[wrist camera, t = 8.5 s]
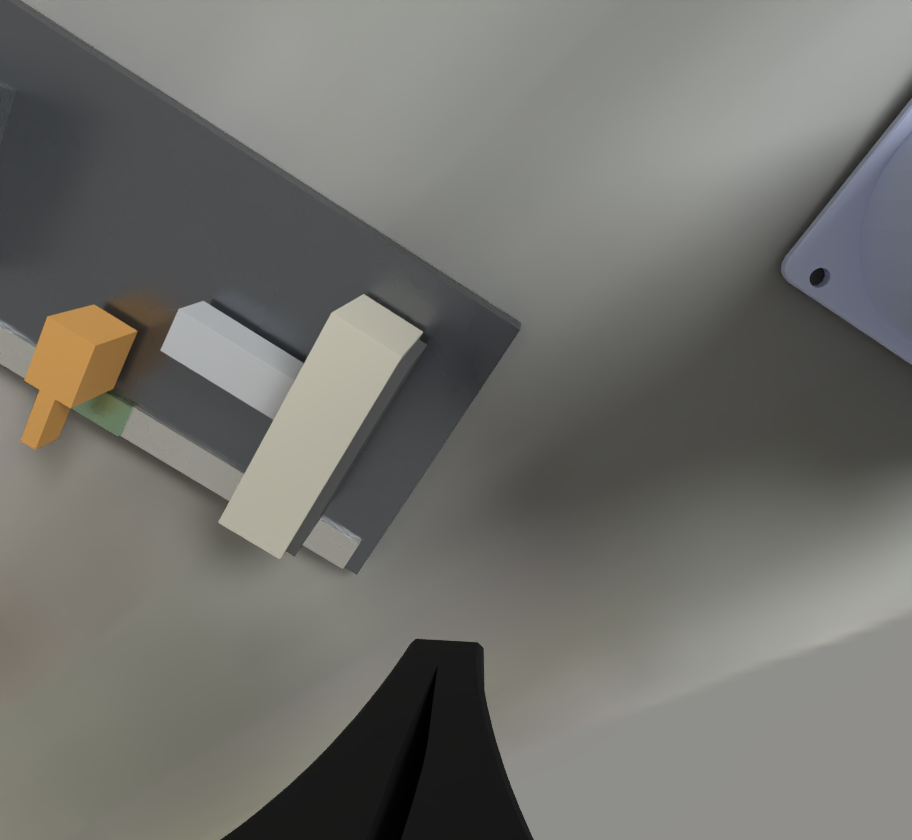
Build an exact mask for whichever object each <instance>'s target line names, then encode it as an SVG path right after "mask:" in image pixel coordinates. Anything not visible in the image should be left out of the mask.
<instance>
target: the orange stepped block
mask: <svg viewBox="0 0 912 840" xmlns="http://www.w3.org/2000/svg"><path fill="white" fill-rule="evenodd" d="M137 332H138V331H137V330H135V329H134V328H132V327H130V326H129V325H127V324H125V323H124V322H122V321H120V320H119V319H117V318H116V317H114V316H112V315H111V314H109V313H107V312H106V311H104V310H103V309H101V308H99V307H98V306H96V305H90V306H86V307H82V308H78V309H74V310H70V311H66V312H62V313H58V314H55V315H51V316H47V319H46V321H45V324H44V327H43V330H42V332H41V335H40V338H39V341H38V343H37V346H36V349H35V352H34V354H33V357H32V360H31V363H30V365H29V368H28V371H27V374H26V376H25V379H24V381H25V382H27V383H29V384H30V385H32V386H34V387H35V388H37V389H39V393H38V395H37V398H36V401H35V403H34V406H33V409H32V411H31V414H30V417H29V419H28V422H27V425H26V427H25V430H24V433H23V435H22V438H21V442H23V443H25V444H26V445H28V446H30V447H31V448H33V449H35V450H36V449H38V448H40V447H42V446H44V445H46V444H48V443H50V442H52V441H54V440H56V439H58V438H59V436H60V434H61V431H62V429H63V426H64V424H65V421H66V419H67V416H68V414H69V411H70V409H71V408H73V407H75V406H77V405H79V404H81V403H83V402H86V401H88V400H90V399H92V398H94V397H96V396H99V395H101V394H103V393H105V392H107V391H109V390H112V389H113V388H114V386H115V384H116V381H117V379H118V377H119V374H120V372H121V369H122V367H123V365H124V362H125V360H126V358H127V355H128V353H129V351H130V348H131V346H132V344H133V341H134V339H135V336H136V334H137Z"/></svg>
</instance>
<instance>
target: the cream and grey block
mask: <svg viewBox="0 0 912 840" xmlns="http://www.w3.org/2000/svg"><path fill="white" fill-rule="evenodd" d="M422 333H423V331H421V330H420V329H418V328H416V327H415V326H413V325H412V324H410V323H409V322H407V321H405V320H404V319H402V318H401V317H399V316H397V315H396V314H394V313H393V312H391V311H390V310H388V309H386V308H385V307H383V306H382V305H380V304H379V303H377V302H375V301H374V300H372V299H371V298H369V297H368V296H366V295H364V294H363V295H361V296H359V297H358V298H356V299H354V300H353V301H351V302H349V303H347V304H346V305H344V306H342V307H340V308H339V309H337V310H335V311H333V312H332V313H331V315H330V316H329V318H328V320H327V322H326V324H325V326H324V327H323V329H322V331H321V333H320V335H319V337H318V339H317V340H316V342H315V344H314V346H313V348H312V350H311V352H310V353H309V355H308V357H307V359H306V361H305V363H303V362H301V361H299V360H298V359H296V358H295V357H293V356H291V355H290V354H288V353H287V352H285V351H283V350H282V349H280V348H279V347H277V346H275V345H274V344H272V343H270V342H269V341H267V340H266V339H264V338H262V337H261V336H259V335H258V334H256V333H254V332H253V331H251V330H250V329H248V328H246V327H245V326H243V325H242V324H240V323H238V322H237V321H235V320H234V319H232V318H230V317H229V316H227V315H225V314H224V313H222V312H221V311H219V310H217V309H216V308H214V307H213V306H211V305H209V304H208V303H206V302H205V301H202V302H198V303H195V304H192V305H189V306H186V307H183V308H180V309H178V312H177V314H176V316H175V318H174V321H173V323H172V325H171V327H170V330H169V332H168V334H167V337H166V339H165V341H164V343H163V346H162V348H161V350H160V351H162V352H164V353H165V354H167V355H168V356H170V357H172V358H173V359H175V360H177V361H178V362H180V363H182V364H183V365H185V366H186V367H188V368H190V369H191V370H193V371H195V372H196V373H198V374H199V375H201V376H203V377H204V378H206V379H208V380H209V381H211V382H213V383H214V384H216V385H217V386H219V387H221V388H222V389H224V390H226V391H227V392H229V393H231V394H232V395H234V396H235V397H237V398H239V399H240V400H242V401H244V402H245V403H247V404H248V405H250V406H252V407H253V408H255V409H257V410H258V411H260V412H262V413H263V414H265V415H266V416H268V417H270V418H271V419H273V422H272V424H271V426H270V427H269V429H268V431H267V433H266V435H265V437H264V438H263V440H262V442H261V444H260V446H259V448H258V450H257V451H256V453H255V455H254V457H253V459H252V461H251V463H250V464H249V466H248V468H247V470H246V472H245V474H244V475H243V477H242V479H241V481H240V483H239V485H238V487H237V488H236V490H235V492H234V494H233V496H232V498H231V499H230V501H229V503H228V505H227V507H226V509H225V511H224V512H223V514H222V516H221V518H220V520H219V522H218V523H219V524H221V525H223V526H224V527H226V528H228V529H230V530H231V531H233V532H235V533H236V534H238V535H240V536H241V537H243V538H245V539H246V540H248V541H250V542H251V543H253V544H255V545H256V546H258V547H260V548H261V549H263V550H265V551H266V552H268V553H270V554H271V555H273V556H275V557H277V558H278V559H281V557H282V556H283V554H284V553H285V552H286V551H287V552H288V553H290V554H292V555H293V556H295V555H296V554H297V552H298V551H299V549H300V548H301V546H302V545H303V543H304V542H305V540H306V539H307V538H308V536H309V535H310V533H311V532H312V530H313V529H314V527H315V526H316V524H317V523H318V521H319V520H320V519H321V517H322V516H323V514H324V513H325V511H326V509H327V508H328V506H329V504H330V503H331V501H332V500H333V498H334V496H335V495H336V493H337V491H338V490H339V488H340V486H341V485H342V483H343V482H344V480H345V478H346V477H347V475H348V473H349V472H350V470H351V469H352V467H353V465H354V464H355V462H356V460H357V459H358V457H359V456H360V454H361V452H362V451H363V449H364V447H365V446H366V444H367V442H368V441H369V439H370V438H371V436H372V434H373V433H374V431H375V429H376V428H377V426H378V425H379V423H380V421H381V420H382V418H383V416H384V415H385V413H386V411H387V410H388V408H389V407H390V405H391V403H392V402H393V400H394V398H395V397H396V395H397V394H398V392H399V390H400V389H401V387H402V385H403V384H404V382H405V381H406V379H407V377H408V376H409V374H410V372H411V371H412V369H413V367H414V366H415V364H416V363H417V361H418V359H419V358H420V356H421V354H422V353H423V351H424V350H425V348H426V346H427V344H425V343H424V342H422V341H421V340H419V338H420V336H421V335H422Z"/></svg>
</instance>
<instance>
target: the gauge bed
mask: <svg viewBox="0 0 912 840" xmlns="http://www.w3.org/2000/svg"><path fill="white" fill-rule="evenodd" d="M363 294H364V295H366V296H368V297H369V298H371V299H372V300H374V301H375V302H377V303H379V304H380V305H382V306H383V307H385V308H386V309H388V310H390V311H391V312H393V313H394V314H396V315H397V316H399V317H401V318H402V319H404V320H405V321H407V322H409V323H410V324H412V325H413V326H415V327H416V328H418V329H420V330H421V331H423V333H422V335H421V336H420V338H419V340H421V341H422V342H424V343H425V344H427V346H426V348H425V350H424V351H423V353H422V354H421V356H420V358H419V359H418V361H417V363H416V364H415V366H414V367H413V369H412V371H411V372H410V374H409V376H408V377H407V379H406V381H405V382H404V384H403V385H402V387H401V389H400V390H399V392H398V394H397V395H396V397H395V398H394V400H393V402H392V403H391V405H390V407H389V408H388V410H387V411H386V413H385V415H384V416H383V418H382V420H381V421H380V423H379V425H378V426H377V428H376V429H375V431H374V433H373V434H372V436H371V438H370V439H369V441H368V442H367V444H366V446H365V447H364V449H363V451H362V452H361V454H360V456H359V457H358V459H357V460H356V462H355V464H354V465H353V467H352V469H351V470H350V472H349V473H348V475H347V477H346V478H345V480H344V482H343V483H342V485H341V486H340V488H339V490H338V491H337V493H336V495H335V496H334V498H333V500H332V501H331V503H330V504H329V506H328V508H327V509H326V511H325V513H324V514H323V516H322V517H321V519H320V520H319V521H318V523H317V524H316V526H315V527H314V529H313V530H312V532H311V533H310V535H309V536H308V538H307V539H306V540H305V542H304V543H303V546H305V547H307V548H308V549H310V550H312V551H313V552H315V553H317V554H318V555H320V556H322V557H323V558H325V559H327V560H328V561H330V562H332V563H333V564H335V565H337V566H338V567H340V568H342V569H343V568H344V567H345V568H347V569H349V570H350V571H352V572H354V573H355V574H357V573H358V572H359V570H360V569H361V567H362V566H363V564H364V563H365V561H366V560H367V558H368V557H369V555H370V554H371V552H372V551H373V549H374V548H375V546H376V545H377V543H378V542H379V540H380V539H381V537H382V536H383V534H384V533H385V531H386V530H387V528H388V527H389V525H390V524H391V522H392V521H393V519H394V518H395V516H396V515H397V513H398V512H399V510H400V509H401V507H402V506H403V504H404V503H405V501H406V500H407V498H408V497H409V495H410V494H411V492H412V491H413V489H414V488H415V486H416V485H417V483H418V482H419V480H420V479H421V477H422V476H423V474H424V473H425V471H426V470H427V468H428V467H429V465H430V464H431V462H432V461H433V459H434V458H435V456H436V455H437V453H438V452H439V450H440V449H441V447H442V446H443V444H444V443H445V441H446V440H447V438H448V437H449V435H450V434H451V432H452V431H453V429H454V428H455V426H456V425H457V423H458V422H459V420H460V419H461V417H462V416H463V414H464V413H465V411H466V410H467V408H468V407H469V405H470V404H471V402H472V401H473V399H474V398H475V396H476V395H477V393H478V392H479V390H480V389H481V387H482V386H483V384H484V383H485V381H486V380H487V378H488V377H489V375H490V374H491V372H492V371H493V369H494V368H495V366H496V365H497V363H498V362H499V360H500V359H501V357H502V356H503V354H504V353H505V351H506V350H507V348H508V347H509V345H510V344H511V342H512V341H513V339H514V338H515V336H516V335H517V333H518V332H519V330H520V326H521V323H520V322H518V321H517V320H515V319H514V318H512V317H511V316H509V315H508V314H506V313H505V312H503V311H501V310H500V309H498V308H497V307H495V306H494V305H492V304H491V303H489V302H487V301H486V300H484V299H483V298H481V297H480V296H478V295H477V294H475V293H473V292H472V291H470V290H469V289H467V288H466V287H464V286H463V285H461V284H460V283H458V282H456V281H455V280H453V279H452V278H450V277H449V276H447V275H446V274H444V273H442V272H441V271H439V270H438V269H436V268H435V267H433V266H432V265H430V264H429V263H427V262H425V261H424V260H422V259H421V258H419V257H418V256H416V255H415V254H413V253H411V252H410V251H408V250H407V249H405V248H404V247H402V246H401V245H399V244H397V243H396V242H394V241H393V240H391V239H390V238H388V237H387V236H385V235H384V234H382V233H380V232H379V231H377V230H376V229H374V228H373V227H371V226H370V225H368V224H366V223H365V222H363V221H362V220H360V219H359V218H357V217H356V216H354V215H353V214H351V213H349V212H348V211H346V210H345V209H343V208H342V207H340V206H339V205H337V204H335V203H334V202H332V201H331V200H329V199H328V198H326V197H325V196H323V195H321V194H320V193H318V192H317V191H315V190H314V189H312V188H311V187H309V186H308V185H306V184H304V183H303V182H301V181H300V180H298V179H297V178H295V177H294V176H292V175H290V174H289V173H287V172H286V171H284V170H283V169H281V168H280V167H278V166H276V165H275V164H273V163H272V162H270V161H269V160H267V159H266V158H264V157H263V156H261V155H259V154H258V153H256V152H255V151H253V150H252V149H250V148H249V147H247V146H245V145H244V144H242V143H241V142H239V141H238V140H236V139H235V138H233V137H232V136H230V135H228V134H227V133H225V132H224V131H222V130H221V129H219V128H218V127H216V126H214V125H213V124H211V123H210V122H208V121H207V120H205V119H204V118H202V117H200V116H199V115H197V114H196V113H194V112H193V111H191V110H190V109H188V108H187V107H185V106H183V105H182V104H180V103H179V102H177V101H176V100H174V99H173V98H171V97H169V96H168V95H166V94H165V93H163V92H162V91H160V90H159V89H157V88H156V87H154V86H152V85H151V84H149V83H148V82H146V81H145V80H143V79H142V78H140V77H138V76H137V75H135V74H134V73H132V72H131V71H129V70H128V69H126V68H124V67H123V66H121V65H120V64H118V63H117V62H115V61H114V60H112V59H111V58H109V57H107V56H106V55H104V54H103V53H101V52H100V51H98V50H97V49H95V48H93V47H92V46H90V45H89V44H87V43H86V42H84V41H83V40H81V39H80V38H78V37H76V36H75V35H73V34H72V33H70V32H69V31H67V30H66V29H64V28H62V27H61V26H59V25H58V24H56V23H55V22H53V21H52V20H50V19H48V18H47V17H45V16H44V15H42V14H41V13H39V12H38V11H36V10H35V9H33V8H31V7H30V6H28V5H27V4H25V3H24V2H22V1H21V0H0V364H1V365H3V366H5V367H6V368H8V369H10V370H11V371H13V372H15V373H16V374H18V375H20V376H21V377H23V378H25V376H26V374H27V371H28V368H29V365H30V363H31V360H32V357H33V354H34V352H35V349H36V346H37V343H38V341H39V338H40V335H41V332H42V330H43V327H44V324H45V321H46V319H47V316H51V315H55V314H58V313H62V312H66V311H70V310H74V309H78V308H82V307H86V306H90V305H96V306H98V307H99V308H101V309H103V310H104V311H106V312H107V313H109V314H111V315H112V316H114V317H116V318H117V319H119V320H120V321H122V322H124V323H125V324H127V325H129V326H130V327H132V328H134V329H135V330H137V331H138V332H137V334H136V336H135V339H134V341H133V344H132V346H131V348H130V351H129V353H128V355H127V358H126V360H125V362H124V365H123V367H122V369H121V372H120V374H119V377H118V379H117V381H116V384H115V386H114V388H113V389H112V390H109V391H107V392H105V393H103V394H101V395H99V396H96V397H94V398H92V399H90V400H88V401H86V402H83V403H81V404H79V405H77V406H75V407H73V408H71V409H73V410H74V411H76V412H78V413H79V414H81V415H83V416H84V417H86V418H88V419H89V420H91V421H93V422H94V423H96V424H98V425H99V426H101V427H103V428H104V429H106V430H108V431H109V432H111V433H113V434H114V435H116V436H118V437H119V436H121V437H123V438H125V439H126V440H128V441H130V442H131V443H133V444H135V445H136V446H138V447H140V448H141V449H143V450H145V451H146V452H148V453H150V454H151V455H153V456H155V457H156V458H158V459H160V460H161V461H163V462H165V463H166V464H168V465H170V466H171V467H173V468H175V469H176V470H178V471H180V472H181V473H183V474H185V475H186V476H188V477H190V478H191V479H193V480H195V481H196V482H198V483H200V484H201V485H203V486H205V487H206V488H208V489H210V490H211V491H213V492H215V493H216V494H218V495H220V496H221V497H223V498H225V499H226V500H228V501H230V499H231V498H232V496H233V494H234V492H235V490H236V488H237V487H238V485H239V483H240V481H241V479H242V477H243V475H244V474H245V472H246V470H247V468H248V466H249V464H250V463H251V461H252V459H253V457H254V455H255V453H256V451H257V450H258V448H259V446H260V444H261V442H262V440H263V438H264V437H265V435H266V433H267V431H268V429H269V427H270V426H271V424H272V422H273V419H271V418H270V417H268V416H266V415H265V414H263V413H262V412H260V411H258V410H257V409H255V408H253V407H252V406H250V405H248V404H247V403H245V402H244V401H242V400H240V399H239V398H237V397H235V396H234V395H232V394H231V393H229V392H227V391H226V390H224V389H222V388H221V387H219V386H217V385H216V384H214V383H213V382H211V381H209V380H208V379H206V378H204V377H203V376H201V375H199V374H198V373H196V372H195V371H193V370H191V369H190V368H188V367H186V366H185V365H183V364H182V363H180V362H178V361H177V360H175V359H173V358H172V357H170V356H168V355H167V354H165V353H164V352H162V351H160V350H161V348H162V346H163V343H164V341H165V339H166V337H167V334H168V332H169V330H170V327H171V325H172V323H173V321H174V318H175V316H176V314H177V312H178V309H180V308H183V307H186V306H189V305H192V304H195V303H198V302H202V301H205V302H206V303H208V304H209V305H211V306H213V307H214V308H216V309H217V310H219V311H221V312H222V313H224V314H225V315H227V316H229V317H230V318H232V319H234V320H235V321H237V322H238V323H240V324H242V325H243V326H245V327H246V328H248V329H250V330H251V331H253V332H254V333H256V334H258V335H259V336H261V337H262V338H264V339H266V340H267V341H269V342H270V343H272V344H274V345H275V346H277V347H279V348H280V349H282V350H283V351H285V352H287V353H288V354H290V355H291V356H293V357H295V358H296V359H298V360H299V361H301V362H303V363H305V361H306V359H307V357H308V355H309V353H310V352H311V350H312V348H313V346H314V344H315V342H316V340H317V339H318V337H319V335H320V333H321V331H322V329H323V327H324V326H325V324H326V322H327V320H328V318H329V316H330V315H331V313H332V312H333V311H335V310H337V309H339V308H340V307H342V306H344V305H346V304H347V303H349V302H351V301H353V300H354V299H356V298H358V297H359V296H361V295H363Z"/></svg>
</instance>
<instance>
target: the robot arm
mask: <svg viewBox="0 0 912 840" xmlns="http://www.w3.org/2000/svg"><path fill="white" fill-rule="evenodd" d="M817 268H822V269H823V270H824V274H825V277H824V279H823V281H822V282H821V283H819V284H818V285H814V286H812V284H811V283H810V278H809V277H810V275H811V273H812V272H813V271H814V270H816V269H817ZM781 272H782V275H783V277H784V278H785V280H786V281H787V282H789V283H790V284H792V285H793V286H795V287H796V288H798V289H799V290H801V291H802V292H804V293H805V294H807V295H808V296H809V297H811V298H812V299H814V300H815V301H817V302H818V303H820V304H821V305H823V306H824V307H826V308H827V309H829V310H830V311H832V312H833V313H835V314H836V315H838V316H839V317H841V318H842V319H844V320H845V321H847V322H848V323H850V324H851V325H853V326H854V327H856V328H857V329H859V330H860V331H862V332H863V333H864V334H866V335H867V336H869V337H870V338H872V339H873V340H875V341H876V342H878V343H879V344H881V345H882V346H884V347H885V348H887V349H888V350H890V351H891V352H893V353H894V354H896V355H897V356H899V357H900V358H902V359H903V360H905V361H906V362H908V363H909V364H911V365H912V98H911V100H910V101H909V102H908V103H907V105H906V106H905V107H904V108H903V110H902V111H901V112H900V113H899V115H898V116H897V117H896V118H895V120H894V121H893V122H892V123H891V125H890V126H889V127H888V128H887V130H886V131H885V132H884V133H883V135H882V136H881V137H880V138H879V140H878V141H877V142H876V143H875V145H874V146H873V147H872V148H871V150H870V151H869V152H868V153H867V155H866V156H865V157H864V158H863V160H862V161H861V162H860V163H859V165H858V166H857V167H856V168H855V170H854V171H853V172H852V174H851V175H850V176H849V177H848V179H847V180H846V181H845V182H844V184H843V185H842V186H841V187H840V189H839V190H838V191H837V192H836V194H835V195H834V196H833V197H832V199H831V200H830V201H829V202H828V204H827V205H826V206H825V207H824V209H823V210H822V211H821V212H820V214H819V215H818V216H817V217H816V219H815V220H814V221H813V222H812V224H811V225H810V226H809V227H808V229H807V230H806V231H805V232H804V234H803V235H802V236H801V237H800V239H799V240H798V241H797V242H796V244H795V245H794V246H793V247H792V249H791V250H790V251H789V252H788V254H787V255H786V256H785V258H784V260H783V262H782V265H781ZM221 840H534V839H533V837H532V835H531V833H530V831H529V828H528V826H527V824H526V822H525V819H524V817H523V815H522V812H521V810H520V808H519V805H518V803H517V800H516V798H515V795H514V793H513V790H512V788H511V785H510V782H509V780H508V777H507V774H506V771H505V768H504V765H503V762H502V759H501V756H500V752H499V749H498V746H497V743H496V739H495V736H494V732H493V728H492V724H491V720H490V716H489V711H488V707H487V702H486V697H485V691H484V650H483V647H482V646H481V645H480V644H479V643H478V642H461V641H444V640H426V639H415V640H414V641H413V642H412V643H411V644H410V645H409V647H408V648H407V650H406V651H405V653H404V654H403V656H402V657H401V659H400V660H399V662H398V663H397V664H396V666H395V667H394V669H393V670H392V671H391V673H390V674H389V675H388V677H387V678H386V679H385V681H384V682H383V683H382V685H381V686H380V687H379V689H378V690H377V691H376V692H375V694H374V695H373V696H372V697H371V699H370V700H369V701H368V702H367V704H366V705H365V706H364V707H363V709H362V710H361V711H360V712H359V713H358V715H357V716H356V717H355V718H354V719H353V720H352V721H351V723H350V724H349V725H348V726H347V727H346V728H345V729H344V730H343V731H342V733H341V734H340V735H339V736H338V737H337V738H336V739H335V740H334V741H333V743H332V744H331V745H330V746H329V747H328V748H327V749H326V750H325V751H324V752H323V753H322V754H321V755H320V756H319V757H318V758H317V759H316V760H315V761H314V762H313V763H312V764H311V765H310V766H309V767H308V768H307V769H306V770H305V771H304V772H303V773H302V774H301V775H300V776H298V777H297V778H296V779H295V780H294V781H293V782H292V783H291V784H290V785H289V786H288V787H286V788H285V789H284V790H283V791H282V792H281V793H279V794H278V795H277V796H276V797H275V798H274V799H272V800H271V801H270V802H269V803H268V804H266V805H265V806H264V807H263V808H262V809H261V810H259V811H258V812H257V813H256V814H254V815H253V816H252V817H251V818H249V819H248V820H247V821H246V822H244V823H243V824H242V825H240V826H239V827H238V828H236V829H235V830H234V831H232V832H231V833H229V834H228V835H227V836H225V837H224V838H222V839H221Z"/></svg>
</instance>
